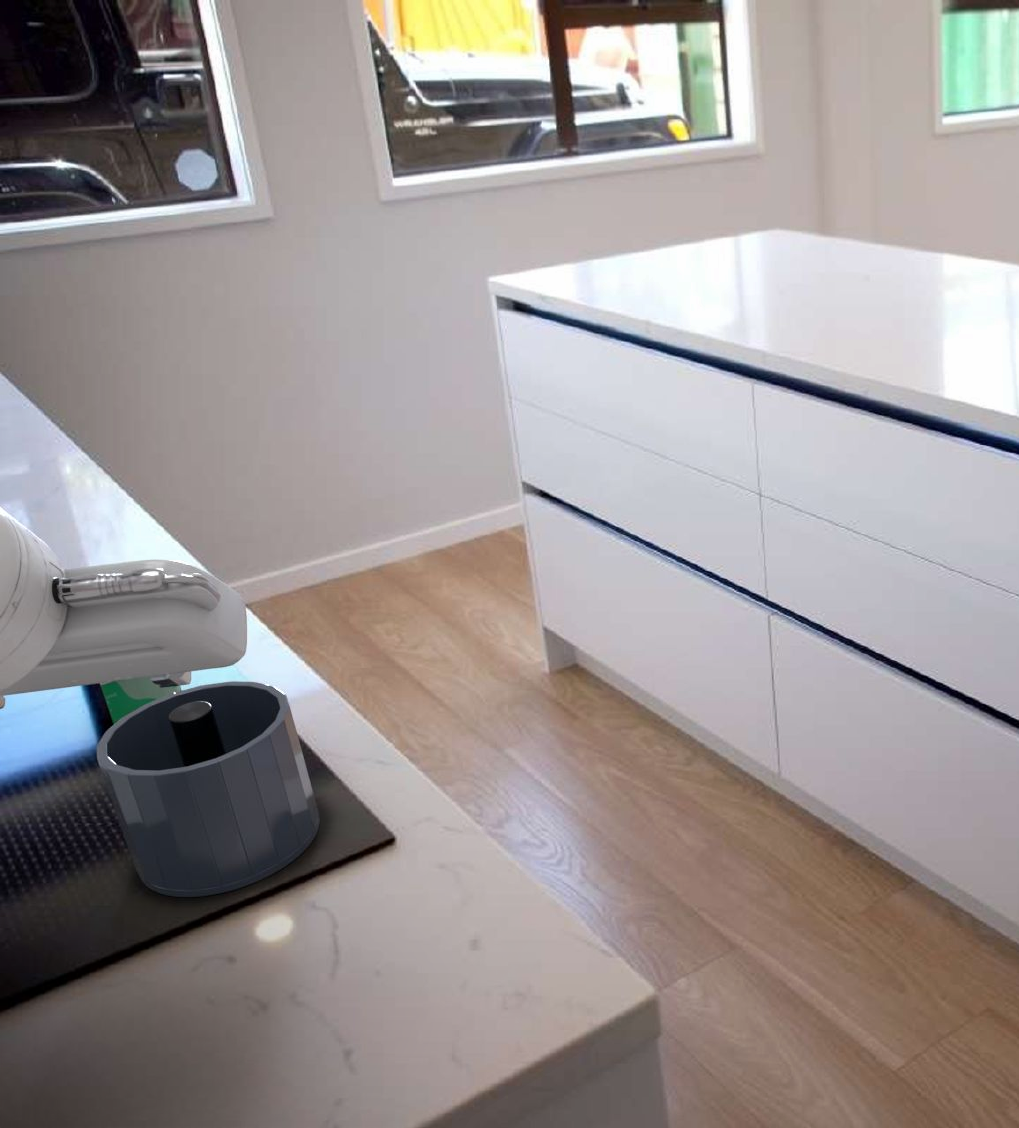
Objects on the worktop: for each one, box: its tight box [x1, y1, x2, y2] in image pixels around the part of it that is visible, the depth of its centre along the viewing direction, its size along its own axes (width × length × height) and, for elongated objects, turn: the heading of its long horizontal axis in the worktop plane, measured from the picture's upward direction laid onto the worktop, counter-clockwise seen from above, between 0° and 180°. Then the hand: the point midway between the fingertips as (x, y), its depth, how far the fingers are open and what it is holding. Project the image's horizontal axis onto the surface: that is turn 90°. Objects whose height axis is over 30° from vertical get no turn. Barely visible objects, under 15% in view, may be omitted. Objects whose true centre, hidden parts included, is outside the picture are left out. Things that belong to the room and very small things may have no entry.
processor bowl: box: [96, 680, 321, 898], centre depth 87 cm, size 12×12×10 cm
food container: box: [99, 677, 182, 725], centre depth 101 cm, size 12×6×10 cm, turn 34°
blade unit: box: [169, 701, 226, 767], centre depth 86 cm, size 7×7×10 cm
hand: (85, 684), depth 70 cm, fingers open, 8 cm apart
